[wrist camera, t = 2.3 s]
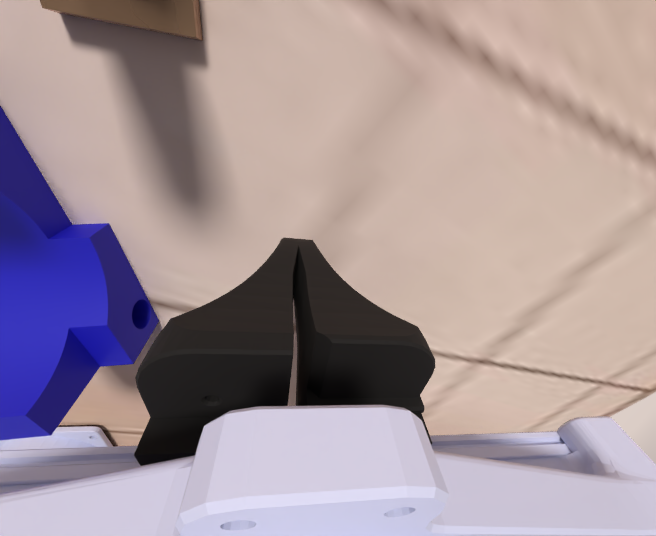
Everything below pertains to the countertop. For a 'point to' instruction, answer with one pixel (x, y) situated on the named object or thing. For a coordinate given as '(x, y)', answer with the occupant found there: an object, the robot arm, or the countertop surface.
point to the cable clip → (57, 299)
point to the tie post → (137, 14)
